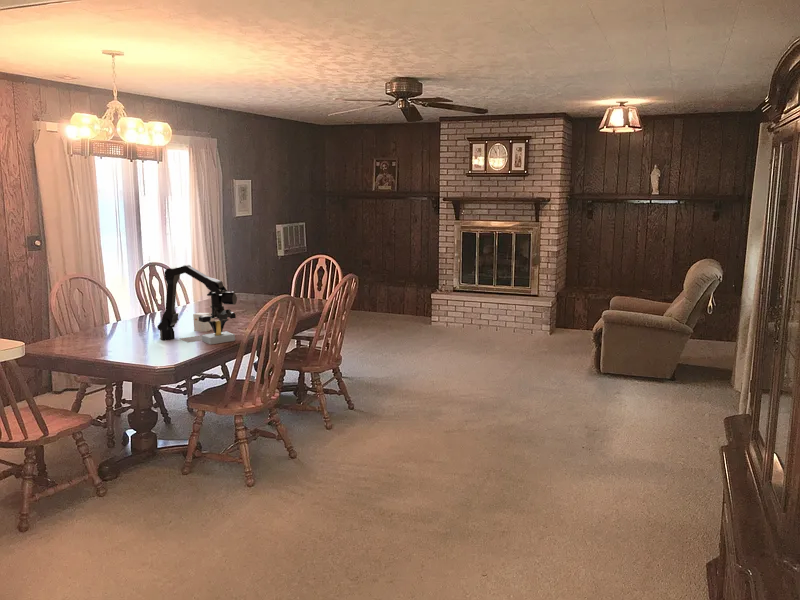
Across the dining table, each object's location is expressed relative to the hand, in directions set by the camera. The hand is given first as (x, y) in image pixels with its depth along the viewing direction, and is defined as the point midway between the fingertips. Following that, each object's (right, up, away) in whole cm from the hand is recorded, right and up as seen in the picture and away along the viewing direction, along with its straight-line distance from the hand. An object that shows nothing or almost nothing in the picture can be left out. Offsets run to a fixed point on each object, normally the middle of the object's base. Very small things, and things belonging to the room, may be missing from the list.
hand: (218, 332), depth 354 cm
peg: (0, -3, 0) cm, 3 cm away
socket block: (0, -5, +1) cm, 5 cm away
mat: (-14, -4, +6) cm, 16 cm away
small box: (-16, -1, +27) cm, 32 cm away
